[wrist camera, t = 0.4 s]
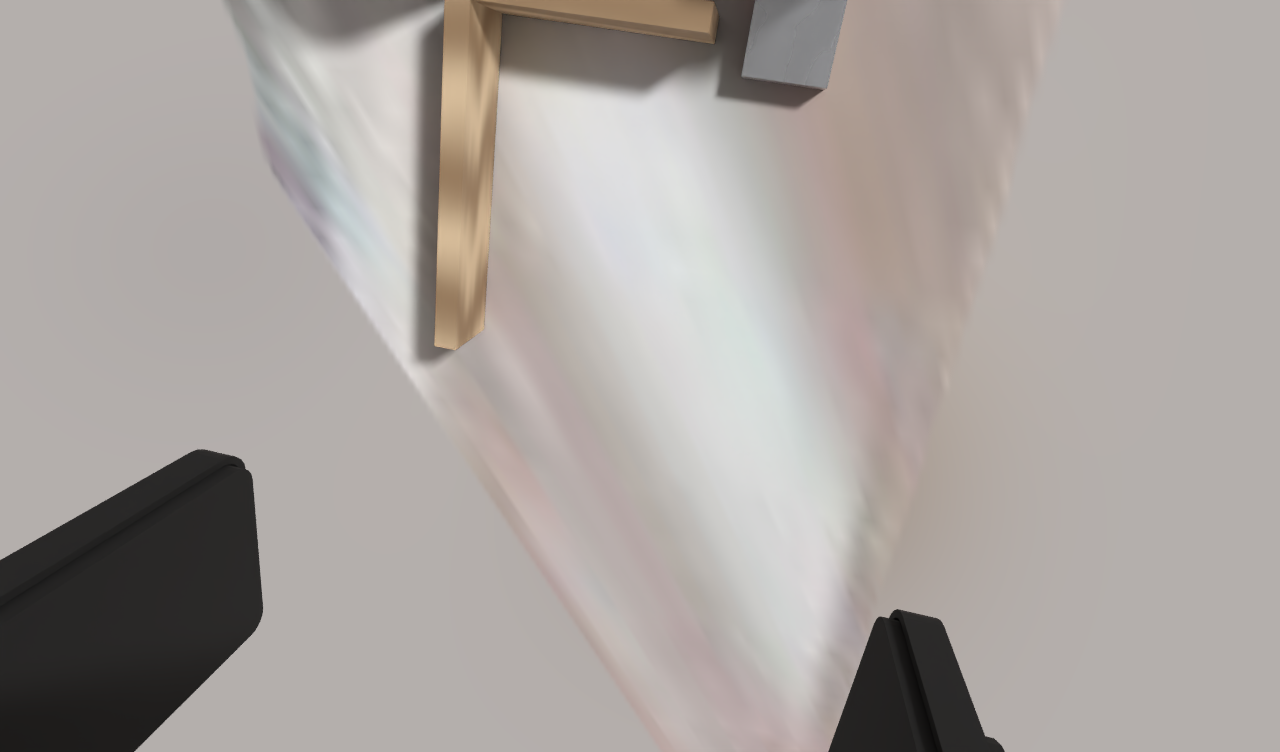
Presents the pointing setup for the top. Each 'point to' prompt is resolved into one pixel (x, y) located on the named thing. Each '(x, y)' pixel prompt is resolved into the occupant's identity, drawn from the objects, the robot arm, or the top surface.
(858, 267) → the top surface
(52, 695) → the robot arm
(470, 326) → the wooden corner frame
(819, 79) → the bracket
